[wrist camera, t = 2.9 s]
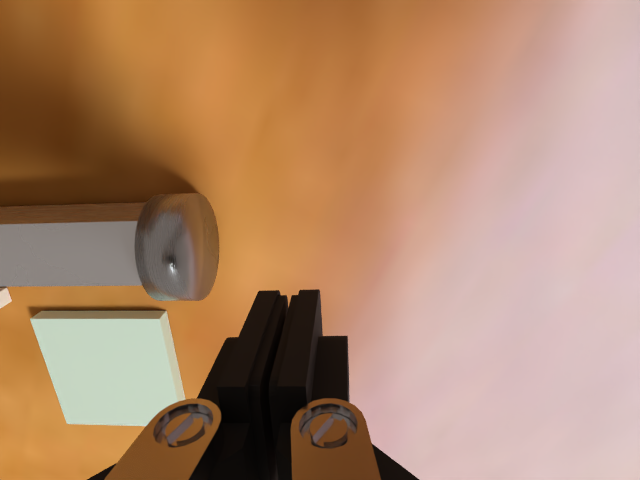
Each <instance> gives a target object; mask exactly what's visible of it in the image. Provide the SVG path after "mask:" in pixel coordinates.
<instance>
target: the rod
mask: <svg viewBox="0 0 640 480" xmlns="http://www.w3.org/2000/svg"><path fill="white" fill-rule="evenodd" d="M218 262H219V235H218V228H217V222H216V218H215V215H214V212H213V209H212V207H211V205H210V203H209V201H208V200H207V198H206V197H205V196H203V195H202V194H199V193H186V194H159V195H155V196H153V197H151V198H150V199H149V200H148V201H147V202H141V203H108V204H74V205H41V206H7V207H0V287H2V286H123V285H143V287H144V289H145V290H146V292H147V293H148V294H149V295H150V296H151V297H152V298H153V299H156V300H159V301H199V300H203V299H204V298H206V297H207V295H208V294H209V293H210V291H211V289H212V287H213V284H214V282H215V278H216V274H217V269H218Z"/></svg>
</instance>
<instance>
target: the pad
mask: <svg viewBox="0 0 640 480" xmlns="http://www.w3.org/2000/svg"><path fill="white" fill-rule="evenodd" d="M30 320H31V323H32V326H33V328H34V331H35V334H36V337H37V340H38V343H39V346H40V348H41V351H42V354H43V357H44V360H45V363H46V365H47V368H48V371H49V374H50V377H51V380H52V382H53V385H54V388H55V391H56V394H57V397H58V399H59V402H60V405H61V408H62V411H63V414H64V417H65V419H66V422H67V424H91V425H126V426H147V425H148V423H149V422H150V421H151V420H152V419H153V418H154V417H155V416H156V415H157V414H158V413H159V412H160V411H161V410H163V409H164V408H166V407H168V406H169V405H172V404H174V403H176V402H179V401H182V400H185V395H184V390H183V386H182V381H181V376H180V371H179V367H178V362H177V357H176V353H175V348H174V343H173V339H172V334H171V329H170V325H169V320H168V315H167V311H40V312H39V313H38V314H36V315H35V316H33V317H32V318H31V319H30Z"/></svg>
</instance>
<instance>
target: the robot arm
mask: <svg viewBox="0 0 640 480" xmlns="http://www.w3.org/2000/svg"><path fill="white" fill-rule="evenodd" d="M87 480H419V479H418V478H416V477H415V476H414V475H412V474H411V473H410V472H408V471H407V470H406V469H405V468H403V467H402V466H401V465H399V464H398V463H397V462H395V461H394V460H393V459H391V458H390V457H389V456H387V455H386V454H385V453H383V452H382V451H381V450H380V449H378V448H377V447H376V446H374V445H373V444H372V443H371V439H370V436H369V432H368V428H367V424H366V420H365V418H364V416H363V414H362V412H361V411H360V410H359V409H358V408H357V407H356V406H355V405H353V404H351V403H349V364H348V337H347V336H323V334H322V317H321V300H320V290H300V291H299V294H298V295H292V297H291V301H290V305H289V308H288V299H287V296H286V295H283V296H281V295H280V291H279V290H276V291H259V292H258V294H257V296H256V298H255V301H254V303H253V305H252V307H251V310H250V312H249V314H248V316H247V319H246V321H245V323H244V326H243V328H242V330H241V332H240V335H239V337H229V338H227V339H226V340H225V342H224V344H223V346H222V348H221V350H220V352H219V354H218V356H217V358H216V360H215V362H214V364H213V367H212V369H211V371H210V373H209V375H208V377H207V379H206V381H205V383H204V385H203V387H202V389H201V391H200V393H199V395H198V397H197V399H187V400H182V401H179V402H176V403H174V404H172V405H169V406H168V407H166V408H164V409H163V410H161V411H160V412H159V413H158V414H157V415H156V416H155V417H154V418H153V419H152V420H151V421H150V422H149V423H148V425H147V426H146V427H145V428H144V430H143V431H142V432H141V433H140V435H139V436H138V437H137V438H136V440H135V441H134V442H133V444H132V445H131V446H130V447H129V449H128V450H127V451H126V452H125V454H124V455H123V456H122V457H121V459H120V460H119V461H118V463H116V464H114V465H112V466H110V467H109V468H107V469H105V470H103V471H102V472H100V473H98V474H96V475H95V476H93V477H91V478H89V479H87Z"/></svg>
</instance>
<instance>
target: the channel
mask: <svg viewBox="0 0 640 480" xmlns="http://www.w3.org/2000/svg"><path fill="white" fill-rule="evenodd" d="M11 301H12V300H11V297H10V294H9V292H8V289H7V288H0V308H2V307H3V306H5V305H7V304H8V303H10V302H11Z"/></svg>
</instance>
